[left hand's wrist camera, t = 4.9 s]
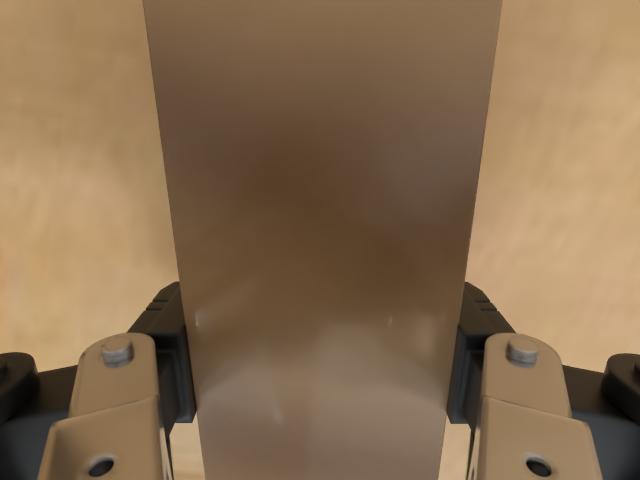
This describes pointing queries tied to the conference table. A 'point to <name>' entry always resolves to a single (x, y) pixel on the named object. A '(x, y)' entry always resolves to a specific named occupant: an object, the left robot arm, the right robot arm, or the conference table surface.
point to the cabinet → (322, 222)
